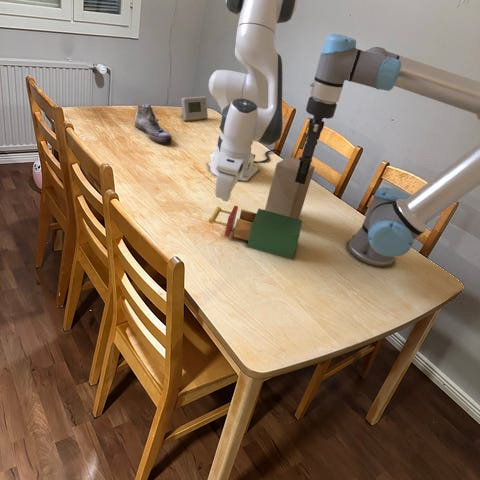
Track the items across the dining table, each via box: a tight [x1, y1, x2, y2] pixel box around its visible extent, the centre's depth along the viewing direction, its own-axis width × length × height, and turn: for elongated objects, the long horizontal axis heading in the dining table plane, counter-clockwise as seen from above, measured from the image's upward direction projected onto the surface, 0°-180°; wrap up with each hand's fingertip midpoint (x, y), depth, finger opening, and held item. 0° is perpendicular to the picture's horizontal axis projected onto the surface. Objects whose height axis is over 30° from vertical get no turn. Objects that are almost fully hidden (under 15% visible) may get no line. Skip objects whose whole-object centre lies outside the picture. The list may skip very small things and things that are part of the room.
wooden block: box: [264, 156, 315, 219], centre depth 151 cm, size 10×10×20 cm
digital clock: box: [180, 95, 209, 122], centre depth 224 cm, size 16×9×11 cm, turn 123°
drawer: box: [208, 205, 257, 242], centre depth 138 cm, size 19×9×7 cm, turn 78°
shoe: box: [134, 102, 172, 145], centre depth 194 cm, size 25×11×12 cm, turn 30°
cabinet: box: [246, 208, 303, 260], centre depth 137 cm, size 14×10×9 cm
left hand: (225, 199), depth 135 cm, fingers closed
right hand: (301, 173), depth 126 cm, fingers open, 13 cm apart
